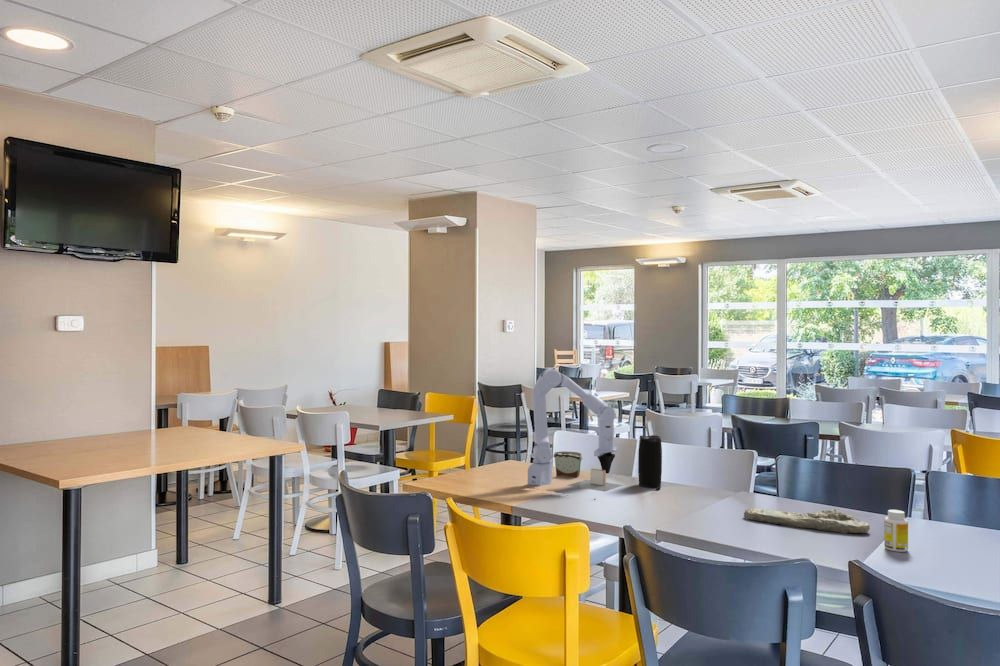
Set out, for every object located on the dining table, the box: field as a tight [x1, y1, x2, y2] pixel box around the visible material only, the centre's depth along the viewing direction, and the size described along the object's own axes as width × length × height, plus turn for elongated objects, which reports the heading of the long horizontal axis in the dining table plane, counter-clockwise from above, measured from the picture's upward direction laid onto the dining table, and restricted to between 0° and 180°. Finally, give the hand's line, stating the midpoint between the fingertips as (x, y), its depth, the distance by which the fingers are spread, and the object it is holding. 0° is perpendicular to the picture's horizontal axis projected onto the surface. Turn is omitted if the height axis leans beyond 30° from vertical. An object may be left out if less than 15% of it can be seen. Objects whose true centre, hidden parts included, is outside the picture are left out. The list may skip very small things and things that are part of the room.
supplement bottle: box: [883, 509, 909, 553], centre depth 190 cm, size 6×6×10 cm
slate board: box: [566, 479, 624, 492], centre depth 264 cm, size 14×16×1 cm
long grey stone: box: [743, 507, 871, 534], centre depth 215 cm, size 35×5×10 cm
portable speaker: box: [637, 434, 663, 492], centre depth 264 cm, size 9×9×20 cm
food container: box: [553, 450, 584, 478], centre depth 284 cm, size 12×6×10 cm, turn 58°
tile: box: [590, 468, 607, 486], centre depth 266 cm, size 2×6×6 cm, turn 53°
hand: (605, 472), depth 271 cm, fingers closed
